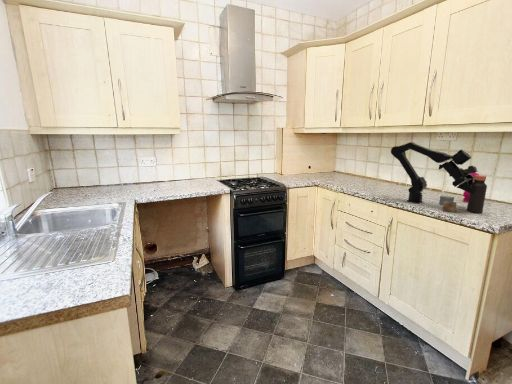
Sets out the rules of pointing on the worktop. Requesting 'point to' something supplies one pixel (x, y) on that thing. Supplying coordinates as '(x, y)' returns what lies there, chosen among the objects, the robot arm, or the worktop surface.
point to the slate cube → (445, 199)
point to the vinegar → (477, 195)
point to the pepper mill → (466, 194)
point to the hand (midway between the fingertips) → (475, 192)
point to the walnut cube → (449, 206)
